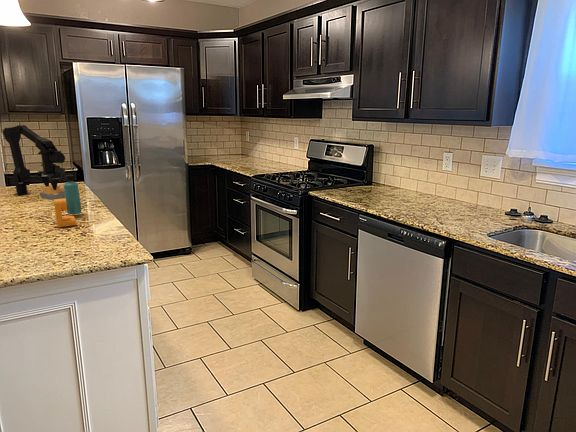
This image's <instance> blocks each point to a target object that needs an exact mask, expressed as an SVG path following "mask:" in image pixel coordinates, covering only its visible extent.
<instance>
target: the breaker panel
mask: <svg viewBox="0 0 576 432" xmlns="http://www.w3.org/2000/svg"><path fill="white" fill-rule="evenodd" d="M39 197H41V198H44V199H46V200H50V201H51V200H53V201H54V200H55V199H65V191H64V189H61V193H55V194H45V193H43V191H41V192H39Z"/></svg>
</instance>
